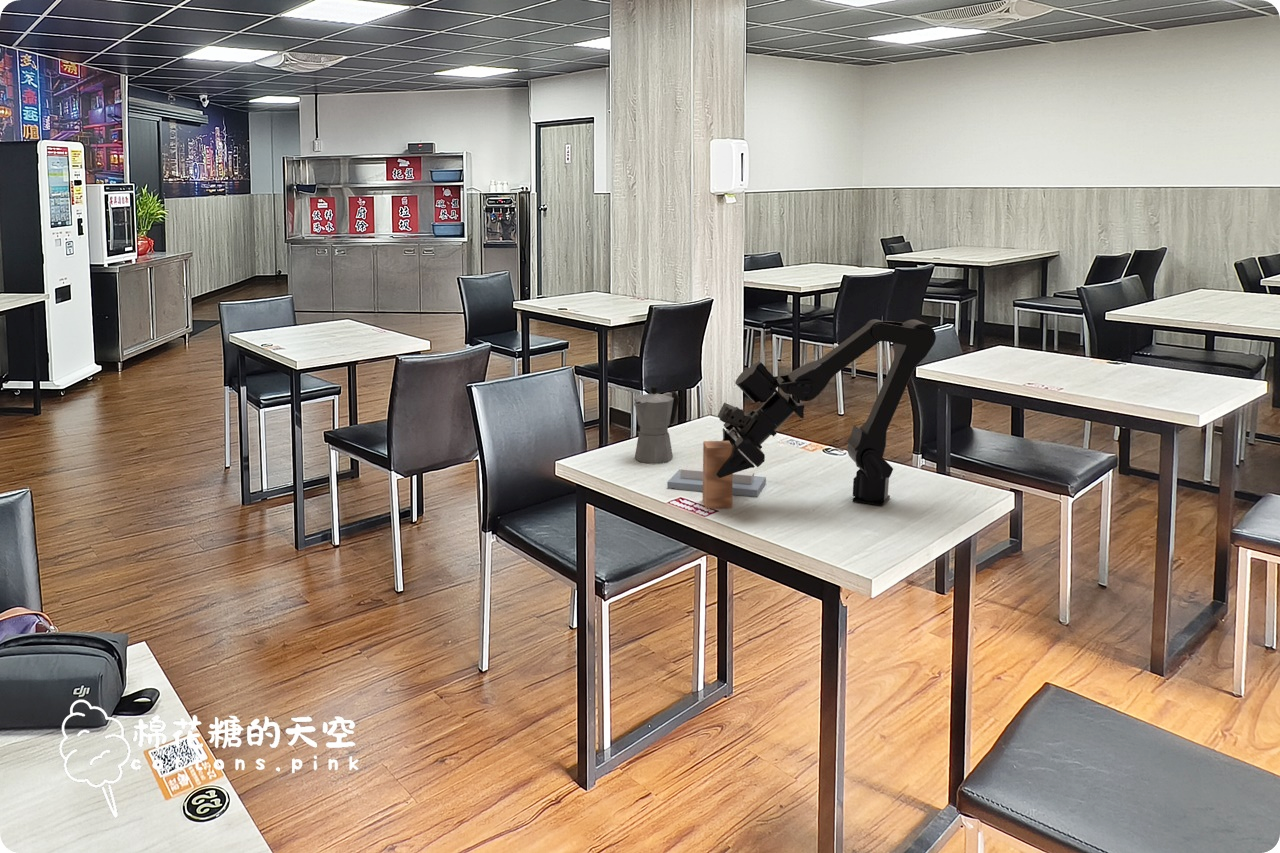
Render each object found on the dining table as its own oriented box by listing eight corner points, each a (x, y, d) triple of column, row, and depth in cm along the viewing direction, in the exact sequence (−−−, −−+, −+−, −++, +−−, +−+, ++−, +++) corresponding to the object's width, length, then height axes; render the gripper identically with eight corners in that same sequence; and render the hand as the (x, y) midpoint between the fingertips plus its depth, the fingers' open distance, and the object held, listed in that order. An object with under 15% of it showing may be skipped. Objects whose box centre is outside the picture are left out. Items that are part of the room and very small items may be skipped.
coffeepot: (649, 468, 237) (650, 393, 232) (620, 460, 243) (620, 387, 239) (692, 455, 248) (693, 383, 243) (663, 448, 254) (664, 378, 250)
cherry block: (727, 499, 214) (729, 440, 211) (731, 507, 209) (733, 447, 206) (702, 500, 214) (703, 441, 211) (706, 508, 209) (707, 448, 205)
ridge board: (765, 483, 225) (766, 468, 224) (756, 496, 216) (757, 481, 215) (679, 475, 231) (679, 460, 230) (667, 488, 222) (667, 473, 221)
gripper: (734, 381, 215) (682, 432, 217) (750, 401, 197) (693, 456, 199) (769, 417, 217) (717, 467, 219) (788, 439, 199) (731, 493, 201)
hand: (714, 469), depth 209 cm, fingers open, 9 cm apart
